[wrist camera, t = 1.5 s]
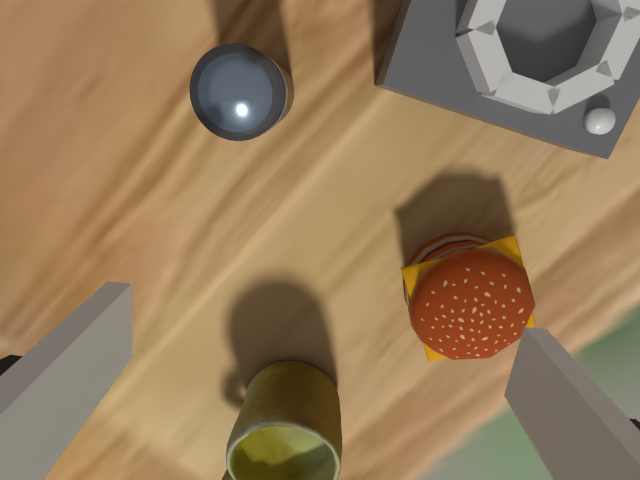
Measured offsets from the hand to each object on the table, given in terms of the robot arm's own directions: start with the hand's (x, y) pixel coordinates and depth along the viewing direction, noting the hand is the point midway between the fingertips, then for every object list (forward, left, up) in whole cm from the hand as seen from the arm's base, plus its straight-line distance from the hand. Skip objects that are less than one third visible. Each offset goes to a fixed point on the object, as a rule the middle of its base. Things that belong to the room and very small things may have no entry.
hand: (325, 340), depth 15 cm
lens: (-7, +6, -22) cm, 24 cm away
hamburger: (+13, -4, -23) cm, 26 cm away
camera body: (+9, +15, -22) cm, 28 cm away
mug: (+2, -21, -23) cm, 31 cm away
